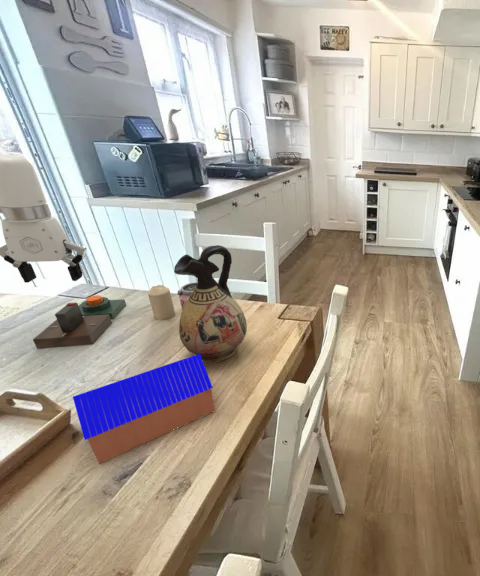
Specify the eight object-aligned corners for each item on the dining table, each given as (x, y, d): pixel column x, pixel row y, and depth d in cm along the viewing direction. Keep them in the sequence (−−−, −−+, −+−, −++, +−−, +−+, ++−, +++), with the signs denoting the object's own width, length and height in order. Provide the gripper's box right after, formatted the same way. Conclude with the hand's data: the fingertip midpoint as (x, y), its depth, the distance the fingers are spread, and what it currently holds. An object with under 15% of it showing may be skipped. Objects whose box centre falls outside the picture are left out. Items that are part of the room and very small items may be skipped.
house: (217, 411, 69) (208, 368, 64) (97, 466, 57) (74, 418, 52) (200, 380, 77) (191, 340, 72) (91, 422, 65) (71, 377, 60)
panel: (37, 349, 83) (32, 339, 82) (62, 326, 93) (58, 316, 91) (92, 344, 86) (89, 334, 85) (112, 322, 96) (109, 313, 94)
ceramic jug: (199, 380, 77) (172, 264, 64) (177, 350, 86) (150, 243, 73) (265, 352, 88) (254, 248, 76) (240, 328, 98) (226, 232, 85)
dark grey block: (71, 331, 86) (63, 312, 83) (62, 332, 85) (54, 313, 83) (84, 319, 91) (77, 301, 88) (75, 320, 90) (68, 302, 88)
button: (85, 306, 96) (83, 301, 95) (91, 300, 99) (89, 295, 99) (99, 305, 97) (97, 300, 96) (105, 300, 100) (103, 295, 99)
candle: (166, 321, 98) (158, 291, 94) (150, 318, 99) (141, 289, 95) (179, 312, 103) (172, 284, 99) (163, 310, 104) (156, 281, 100)
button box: (69, 322, 94) (64, 310, 93) (85, 307, 102) (81, 296, 100) (113, 319, 97) (109, 308, 96) (126, 305, 105) (123, 294, 103)
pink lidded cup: (181, 318, 100) (172, 283, 95) (210, 311, 105) (204, 277, 100) (188, 332, 94) (180, 295, 89) (219, 323, 99) (213, 288, 94)
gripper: (-35, 216, 69) (0, 287, 77) (63, 217, 74) (87, 284, 81) (-8, 208, 76) (22, 274, 83) (81, 209, 80) (102, 272, 88)
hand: (54, 279), depth 82 cm, fingers open, 9 cm apart
